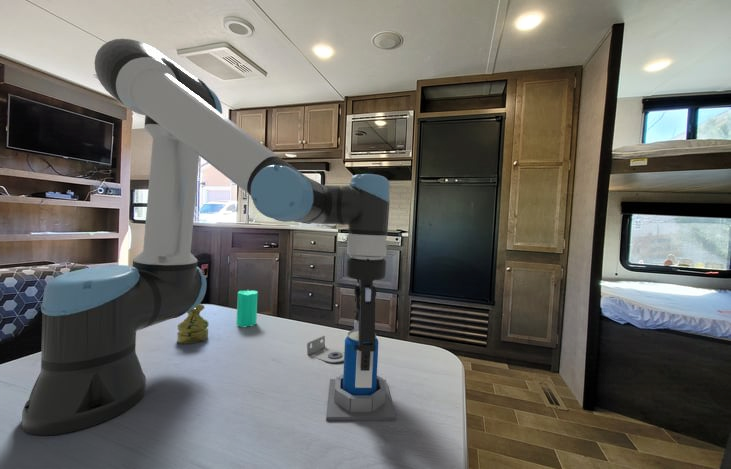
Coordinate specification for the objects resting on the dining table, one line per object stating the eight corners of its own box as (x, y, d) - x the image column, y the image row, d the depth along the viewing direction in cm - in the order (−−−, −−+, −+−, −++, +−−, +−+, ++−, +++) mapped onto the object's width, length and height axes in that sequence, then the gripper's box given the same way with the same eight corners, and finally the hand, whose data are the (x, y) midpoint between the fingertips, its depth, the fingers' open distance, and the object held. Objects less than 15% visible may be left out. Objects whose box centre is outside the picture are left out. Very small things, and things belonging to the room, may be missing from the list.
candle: (232, 325, 89) (234, 288, 89) (243, 320, 95) (245, 284, 95) (249, 328, 88) (251, 290, 88) (259, 321, 94) (261, 286, 94)
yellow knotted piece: (200, 332, 83) (202, 298, 83) (213, 338, 78) (214, 303, 78) (172, 339, 77) (173, 303, 77) (183, 347, 72) (185, 308, 72)
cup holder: (326, 420, 48) (326, 402, 48) (329, 381, 60) (330, 367, 60) (395, 420, 48) (396, 403, 48) (385, 382, 60) (386, 368, 60)
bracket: (337, 368, 66) (337, 353, 66) (306, 356, 72) (307, 342, 72) (353, 358, 72) (353, 344, 72) (323, 347, 77) (324, 335, 77)
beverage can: (381, 393, 55) (384, 333, 55) (364, 411, 50) (367, 344, 49) (354, 382, 58) (357, 326, 58) (335, 397, 53) (338, 335, 53)
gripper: (398, 266, 41) (390, 408, 42) (378, 252, 66) (373, 341, 67) (347, 264, 41) (340, 407, 41) (346, 250, 66) (342, 340, 66)
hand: (361, 366), depth 54 cm, fingers open, 13 cm apart
